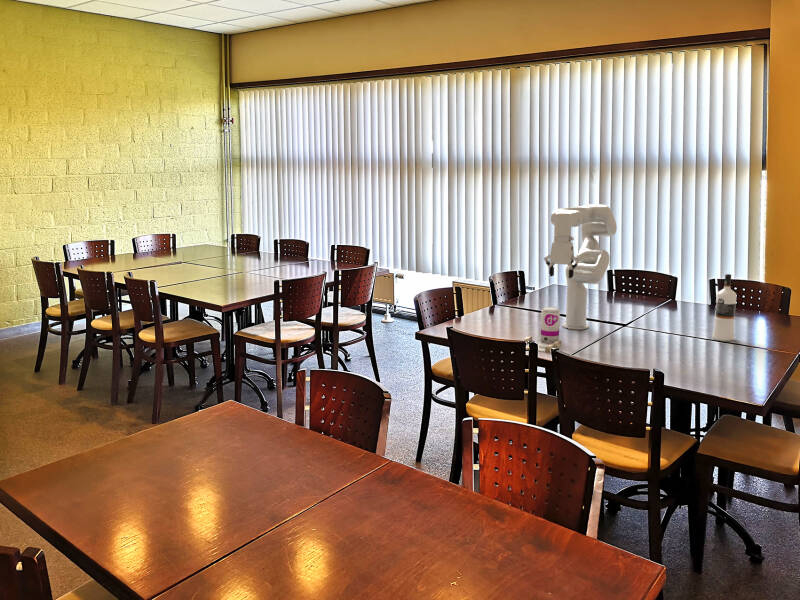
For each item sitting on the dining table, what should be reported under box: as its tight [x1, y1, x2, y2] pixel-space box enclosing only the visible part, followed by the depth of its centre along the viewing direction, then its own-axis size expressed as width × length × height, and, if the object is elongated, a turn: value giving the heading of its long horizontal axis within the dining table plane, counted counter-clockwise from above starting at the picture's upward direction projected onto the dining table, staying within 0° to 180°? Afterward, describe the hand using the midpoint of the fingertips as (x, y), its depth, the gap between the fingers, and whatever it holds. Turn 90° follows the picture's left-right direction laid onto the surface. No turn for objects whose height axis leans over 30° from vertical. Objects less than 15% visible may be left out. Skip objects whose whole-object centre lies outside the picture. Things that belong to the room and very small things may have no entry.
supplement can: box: [540, 306, 561, 343], centre depth 331 cm, size 8×8×15 cm
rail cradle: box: [521, 335, 562, 354], centre depth 322 cm, size 14×16×2 cm
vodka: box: [711, 273, 738, 342], centre depth 330 cm, size 9×9×30 cm
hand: (561, 276), depth 336 cm, fingers open, 8 cm apart
